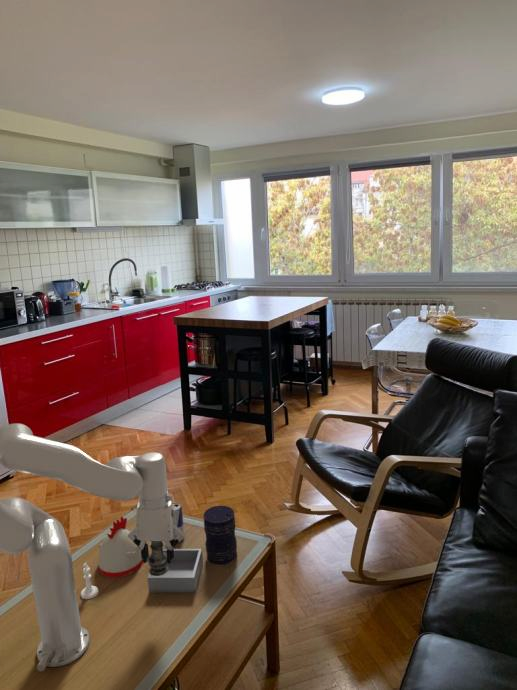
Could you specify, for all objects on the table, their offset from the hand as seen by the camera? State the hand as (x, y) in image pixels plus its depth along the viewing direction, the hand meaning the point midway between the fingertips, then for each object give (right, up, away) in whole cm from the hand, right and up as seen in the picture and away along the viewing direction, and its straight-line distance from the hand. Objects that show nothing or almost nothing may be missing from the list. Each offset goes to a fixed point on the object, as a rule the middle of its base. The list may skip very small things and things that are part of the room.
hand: (158, 559), depth 141 cm
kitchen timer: (-16, -11, +25) cm, 32 cm away
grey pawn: (0, -3, +1) cm, 3 cm away
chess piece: (-22, -15, +11) cm, 29 cm away
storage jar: (+16, -10, +26) cm, 32 cm away
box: (+3, -12, +16) cm, 21 cm away
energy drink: (-1, -8, +36) cm, 37 cm away
